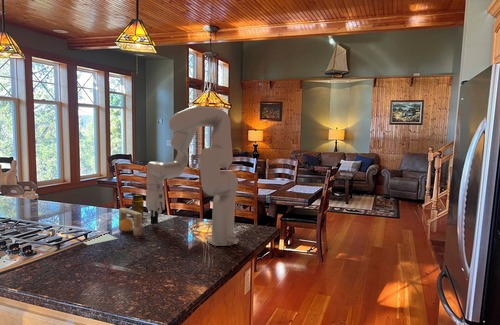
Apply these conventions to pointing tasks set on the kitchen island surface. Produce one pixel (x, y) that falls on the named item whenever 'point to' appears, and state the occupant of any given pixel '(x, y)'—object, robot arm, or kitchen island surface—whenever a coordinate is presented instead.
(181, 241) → the kitchen island surface
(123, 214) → the bridge
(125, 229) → the ball
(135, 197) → the condiment
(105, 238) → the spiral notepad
